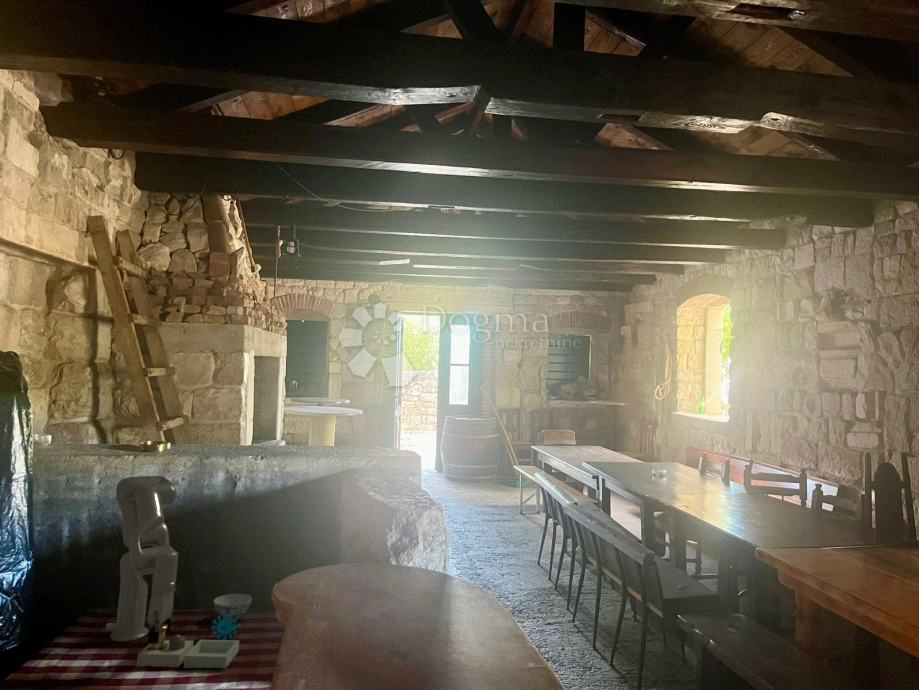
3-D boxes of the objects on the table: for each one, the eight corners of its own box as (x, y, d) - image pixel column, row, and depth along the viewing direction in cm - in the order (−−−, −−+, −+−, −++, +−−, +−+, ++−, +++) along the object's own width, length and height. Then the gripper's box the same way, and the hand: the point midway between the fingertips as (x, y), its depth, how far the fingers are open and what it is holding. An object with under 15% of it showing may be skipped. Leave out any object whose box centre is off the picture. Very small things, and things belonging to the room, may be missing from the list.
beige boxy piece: (136, 666, 196) (139, 641, 197) (152, 651, 208) (155, 628, 209) (178, 667, 197) (181, 642, 198) (192, 652, 209) (194, 629, 210)
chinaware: (212, 614, 247) (213, 595, 248) (249, 610, 253) (250, 592, 253) (212, 626, 233) (214, 607, 234) (251, 623, 239) (253, 603, 240)
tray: (183, 668, 196) (184, 656, 197) (199, 651, 210) (200, 639, 210) (225, 669, 197) (226, 656, 197) (238, 651, 211) (239, 640, 211)
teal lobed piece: (211, 639, 217) (212, 613, 224) (206, 647, 220) (208, 621, 227) (241, 638, 223) (241, 613, 230) (236, 646, 225) (236, 620, 233)
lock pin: (145, 662, 200) (148, 628, 201) (152, 655, 205) (155, 623, 206) (160, 662, 200) (164, 629, 201) (167, 655, 205) (170, 623, 206)
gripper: (163, 580, 213) (159, 628, 211) (141, 594, 196) (136, 647, 194) (184, 580, 214) (180, 629, 212) (163, 594, 197) (159, 647, 194)
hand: (159, 637), depth 203 cm, fingers open, 9 cm apart
